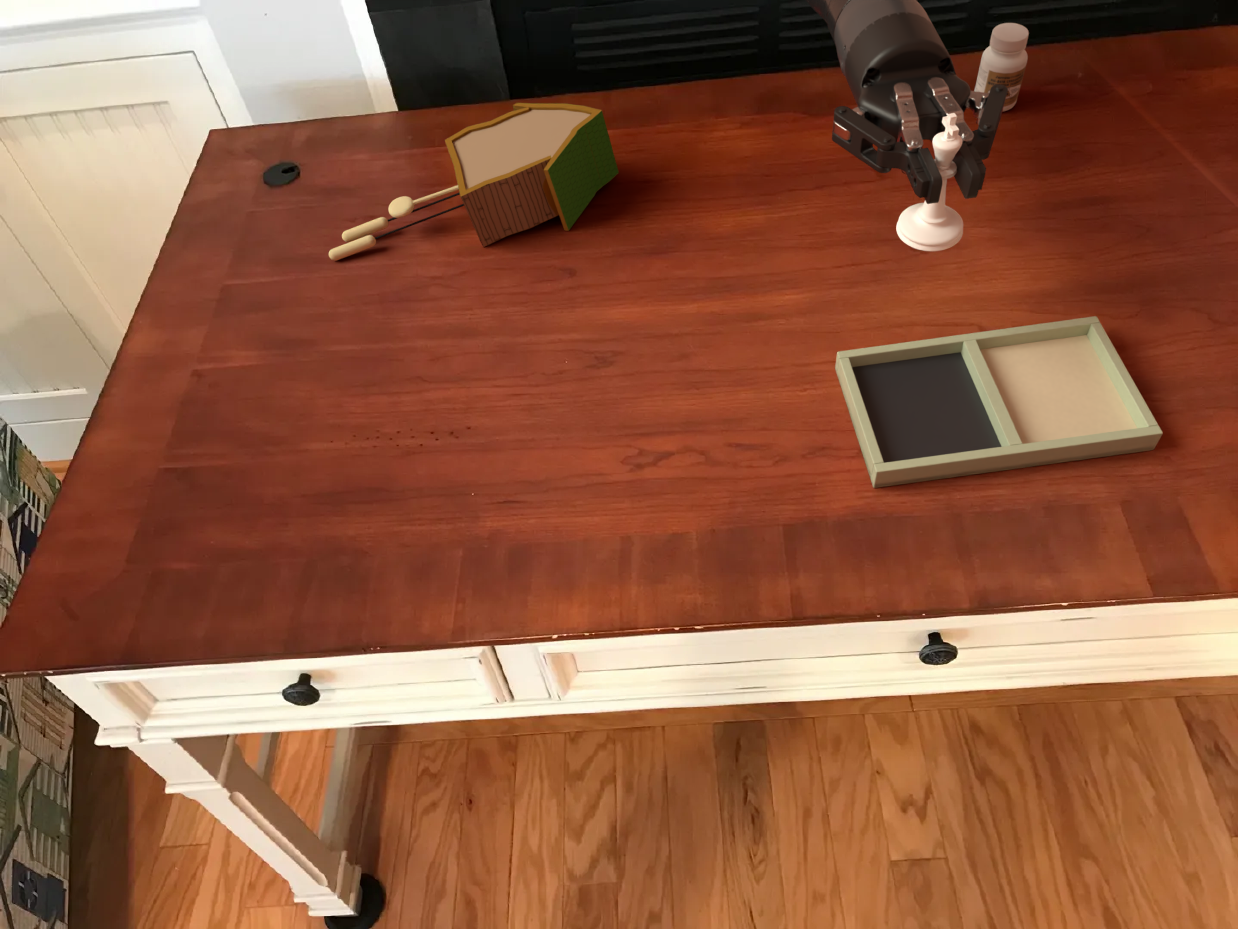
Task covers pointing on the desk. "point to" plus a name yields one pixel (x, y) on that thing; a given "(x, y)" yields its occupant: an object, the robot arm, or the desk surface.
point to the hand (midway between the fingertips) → (955, 190)
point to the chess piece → (935, 221)
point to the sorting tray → (993, 402)
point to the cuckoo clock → (515, 173)
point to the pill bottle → (1004, 61)
